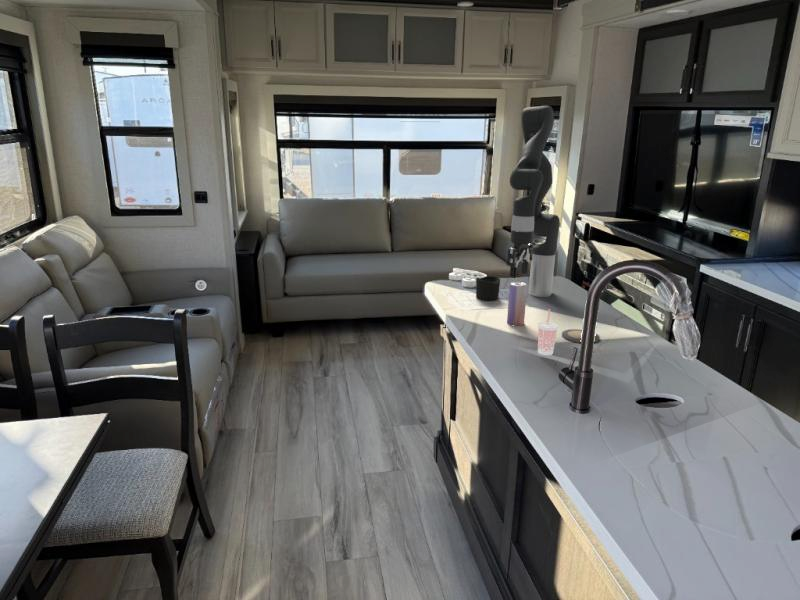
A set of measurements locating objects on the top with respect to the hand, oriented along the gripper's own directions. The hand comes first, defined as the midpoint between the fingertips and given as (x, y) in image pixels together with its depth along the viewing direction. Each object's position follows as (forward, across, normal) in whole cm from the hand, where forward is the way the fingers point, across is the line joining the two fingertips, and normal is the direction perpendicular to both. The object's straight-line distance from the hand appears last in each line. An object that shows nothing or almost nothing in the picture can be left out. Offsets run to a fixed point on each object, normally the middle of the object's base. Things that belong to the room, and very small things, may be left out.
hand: (518, 275), depth 194 cm
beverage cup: (+18, +19, +20) cm, 33 cm away
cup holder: (+18, -32, -40) cm, 54 cm away
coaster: (+18, -2, +23) cm, 29 cm away
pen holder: (+18, -18, -22) cm, 34 cm away
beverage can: (+18, 0, 0) cm, 18 cm away
